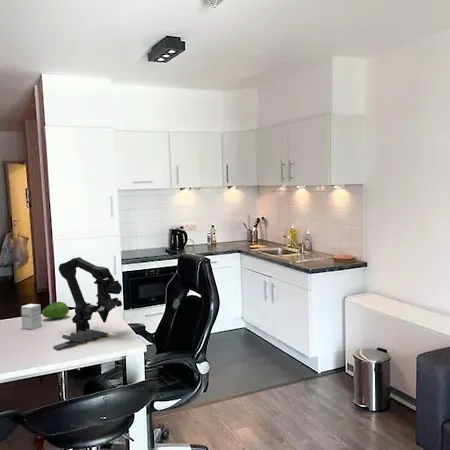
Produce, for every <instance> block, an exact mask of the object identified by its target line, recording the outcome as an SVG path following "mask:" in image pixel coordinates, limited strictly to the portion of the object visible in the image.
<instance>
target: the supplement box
mask: <svg viewBox="0 0 450 450" xmlns="http://www.w3.org/2000/svg"><path fill="white" fill-rule="evenodd" d="M20 307H21V312H20V313H21V328H22V329H24V330H35V329H38V328H40V327H42V311H41V307H42V306H41V304H39V303H38V304H37V303H28V304H25V305H22V306H20Z"/></svg>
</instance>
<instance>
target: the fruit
mask: <svg viewBox="0 0 450 450" xmlns="http://www.w3.org/2000/svg"><path fill="white" fill-rule="evenodd" d="M69 311H70V309H69V306H68V304H67V303H65V302H62V301H55V302H53V303H51V304H49V305H47V306H45V307H44V308H43V310H42V311H41V316H43V317H44V318H47V319H54V320H57V319H63V318H64V317H66V316H67V315H68V314H69V313H70V312H69Z"/></svg>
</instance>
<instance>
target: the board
mask: <svg viewBox="0 0 450 450" xmlns="http://www.w3.org/2000/svg"><path fill="white" fill-rule="evenodd" d="M104 332H105V333H108V336H100V339H99V338H93V340H92V341H90V340H85V343H82V342H78V345H76V346H75V347H77V348H79V347H81V346H85V345H88V344H91V343H96V342H99V341H102V340H105V339H109V338H112V337H115V336H117V335H116V334H113V333H110V332H107V331H104Z"/></svg>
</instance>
